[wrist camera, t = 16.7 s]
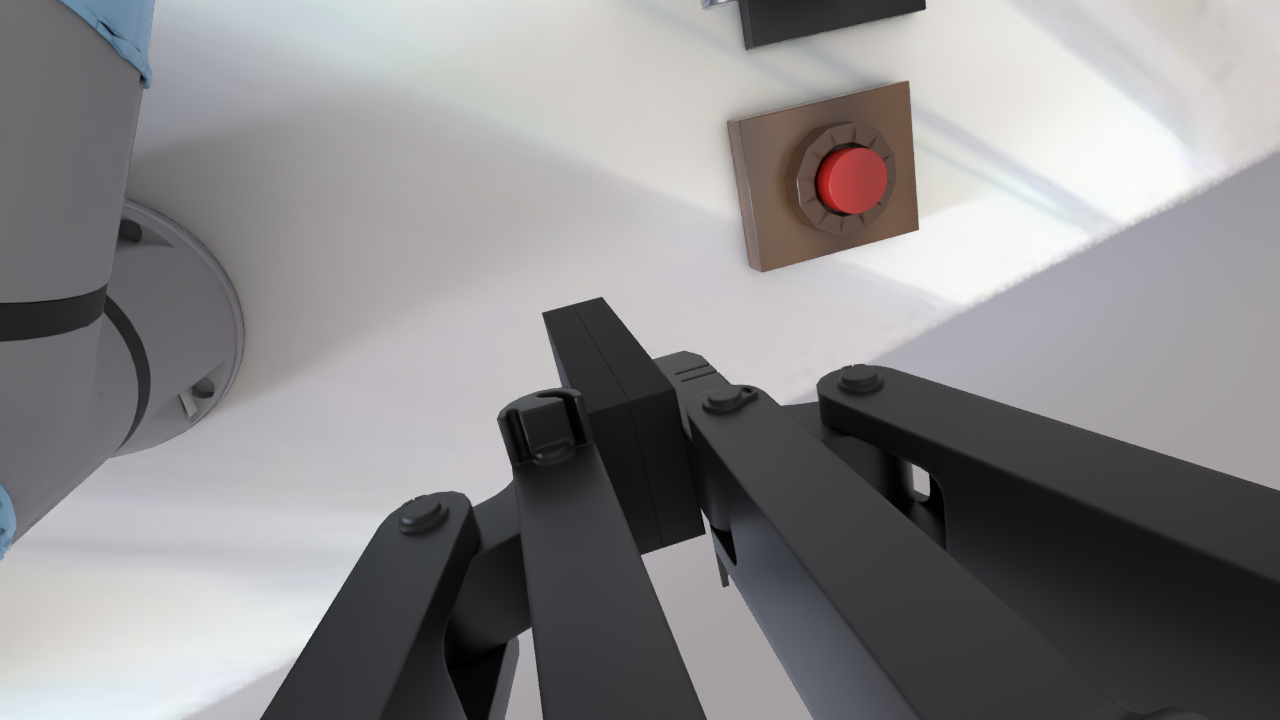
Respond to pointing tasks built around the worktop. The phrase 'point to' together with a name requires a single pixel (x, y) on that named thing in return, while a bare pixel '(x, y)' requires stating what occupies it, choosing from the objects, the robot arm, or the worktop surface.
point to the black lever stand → (813, 17)
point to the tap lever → (715, 3)
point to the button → (852, 180)
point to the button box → (788, 168)
